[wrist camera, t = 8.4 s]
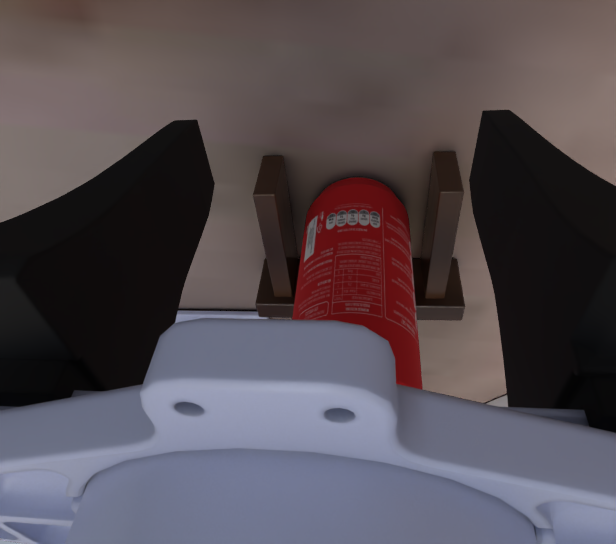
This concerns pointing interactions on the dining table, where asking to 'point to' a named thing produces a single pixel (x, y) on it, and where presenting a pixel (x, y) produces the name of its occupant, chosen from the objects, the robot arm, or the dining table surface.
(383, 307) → the beverage can
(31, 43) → the dining table surface
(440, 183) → the can holder
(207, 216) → the robot arm
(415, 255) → the dining table surface
